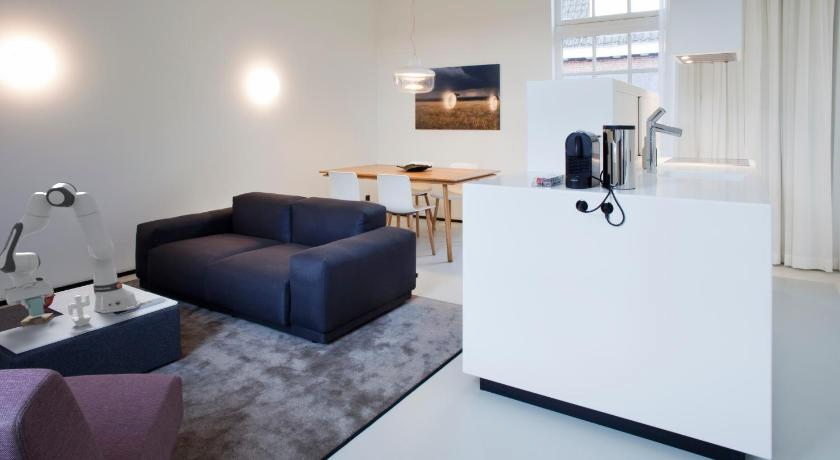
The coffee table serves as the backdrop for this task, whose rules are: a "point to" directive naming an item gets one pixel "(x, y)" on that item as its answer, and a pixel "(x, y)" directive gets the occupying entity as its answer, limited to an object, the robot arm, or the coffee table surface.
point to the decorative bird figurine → (46, 302)
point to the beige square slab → (37, 319)
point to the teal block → (35, 307)
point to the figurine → (80, 310)
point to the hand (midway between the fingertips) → (35, 306)
